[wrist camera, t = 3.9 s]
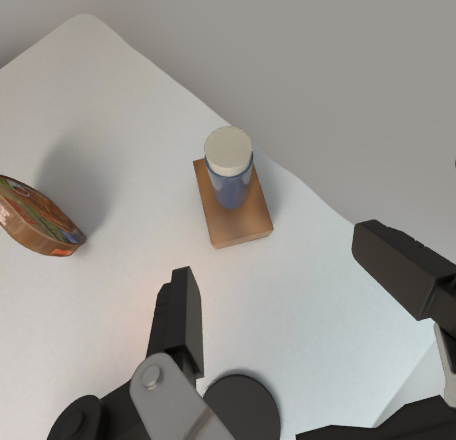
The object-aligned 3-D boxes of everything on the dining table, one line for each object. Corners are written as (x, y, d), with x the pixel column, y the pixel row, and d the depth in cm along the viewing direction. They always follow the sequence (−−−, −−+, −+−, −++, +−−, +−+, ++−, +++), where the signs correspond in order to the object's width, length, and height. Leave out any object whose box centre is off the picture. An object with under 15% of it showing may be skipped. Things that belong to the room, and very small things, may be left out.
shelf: (246, 165, 34) (248, 147, 29) (268, 236, 31) (274, 229, 26) (198, 177, 34) (192, 161, 29) (215, 249, 31) (211, 245, 26)
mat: (266, 365, 27) (266, 367, 26) (290, 460, 24) (291, 465, 24) (190, 385, 27) (189, 387, 26) (207, 483, 24) (206, 489, 24)
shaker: (243, 174, 28) (246, 119, 18) (251, 204, 27) (261, 163, 17) (211, 182, 28) (197, 130, 18) (218, 213, 27) (208, 176, 17)
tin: (96, 246, 32) (47, 237, 24) (80, 263, 31) (25, 259, 23) (38, 187, 35) (-23, 160, 26) (22, 200, 34) (-45, 178, 26)
